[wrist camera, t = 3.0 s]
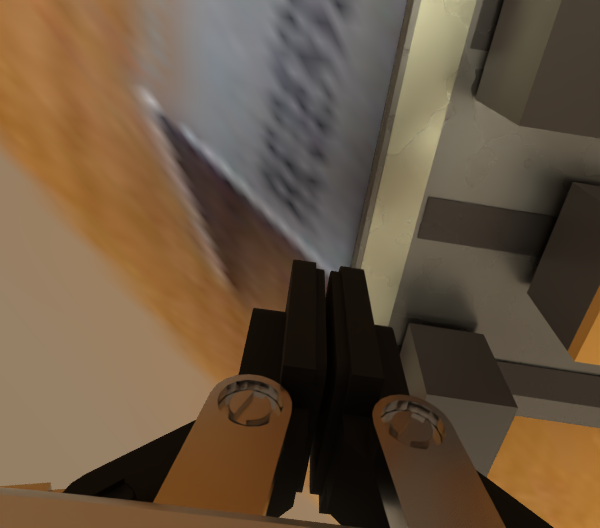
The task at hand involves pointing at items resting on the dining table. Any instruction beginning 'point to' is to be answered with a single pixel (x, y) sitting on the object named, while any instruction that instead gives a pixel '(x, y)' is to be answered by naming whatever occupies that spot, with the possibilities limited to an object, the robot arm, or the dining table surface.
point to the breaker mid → (573, 275)
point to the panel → (470, 210)
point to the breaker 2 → (546, 66)
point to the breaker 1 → (461, 386)
